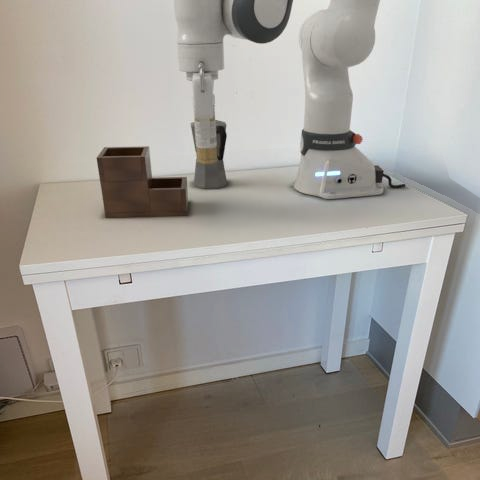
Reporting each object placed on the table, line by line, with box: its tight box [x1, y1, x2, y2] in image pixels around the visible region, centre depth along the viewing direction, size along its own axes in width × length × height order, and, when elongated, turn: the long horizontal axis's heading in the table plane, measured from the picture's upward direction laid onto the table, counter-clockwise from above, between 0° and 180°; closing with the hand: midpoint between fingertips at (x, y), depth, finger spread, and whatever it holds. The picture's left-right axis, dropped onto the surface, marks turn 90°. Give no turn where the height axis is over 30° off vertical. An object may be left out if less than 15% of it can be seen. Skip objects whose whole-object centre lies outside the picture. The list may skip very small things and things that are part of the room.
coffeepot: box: [190, 119, 228, 190], centre depth 125 cm, size 15×9×18 cm, turn 29°
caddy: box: [96, 145, 189, 219], centre depth 111 cm, size 18×10×13 cm, turn 94°
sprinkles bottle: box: [191, 93, 218, 164], centre depth 103 cm, size 5×5×13 cm
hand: (205, 134), depth 103 cm, fingers closed on sprinkles bottle, 4 cm apart
